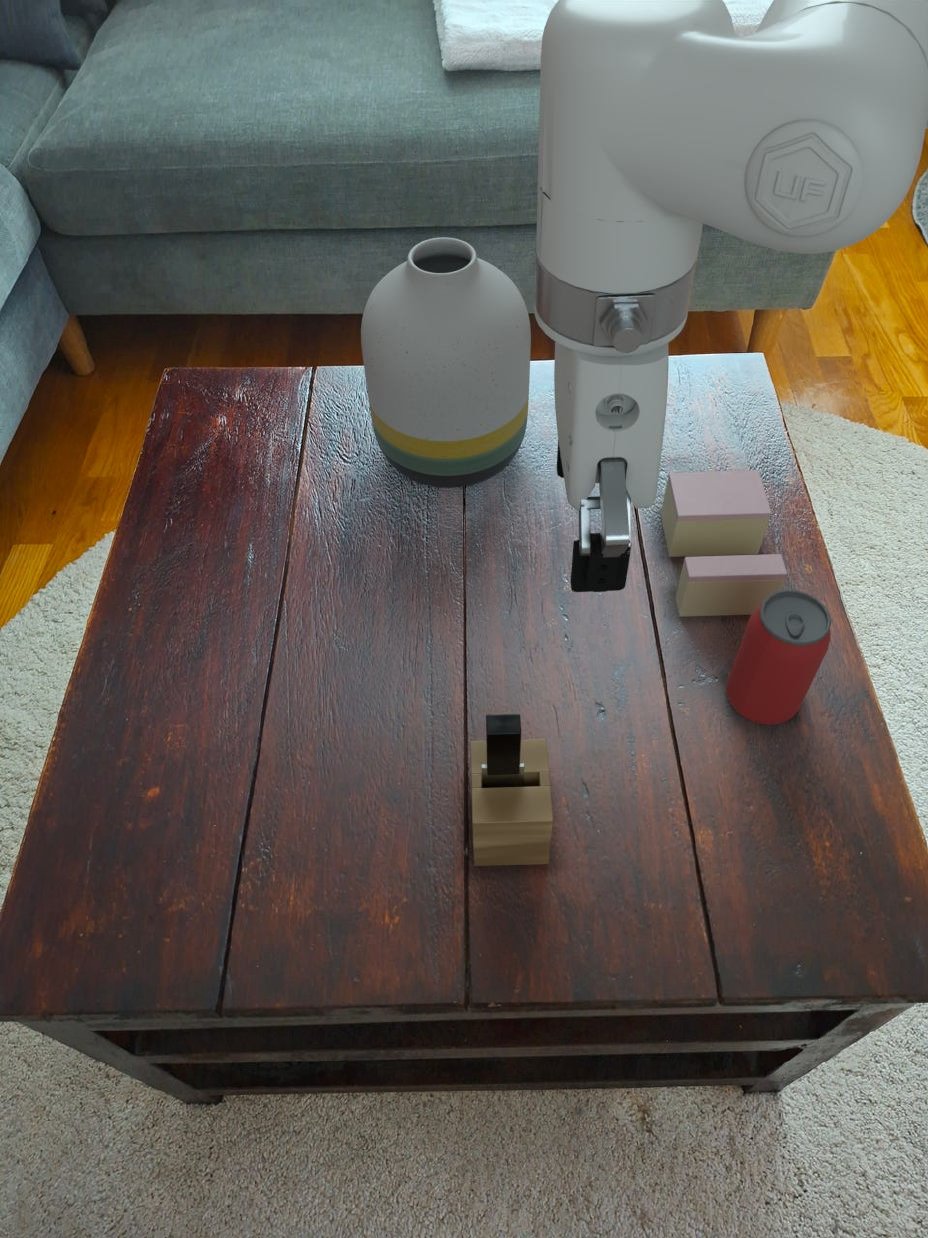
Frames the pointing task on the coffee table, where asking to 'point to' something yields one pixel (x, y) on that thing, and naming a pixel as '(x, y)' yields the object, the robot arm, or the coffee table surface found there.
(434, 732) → the coffee table surface
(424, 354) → the vase
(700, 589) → the cake slice
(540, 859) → the knife block
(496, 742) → the knife
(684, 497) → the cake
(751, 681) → the beer can
